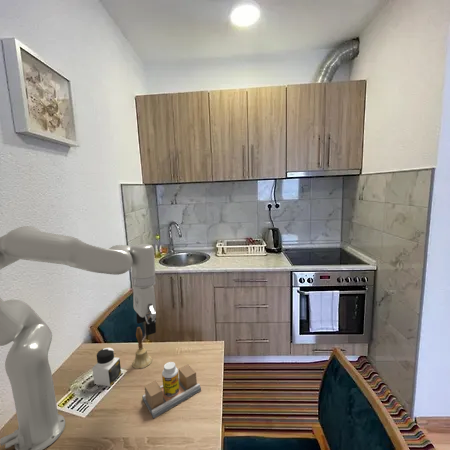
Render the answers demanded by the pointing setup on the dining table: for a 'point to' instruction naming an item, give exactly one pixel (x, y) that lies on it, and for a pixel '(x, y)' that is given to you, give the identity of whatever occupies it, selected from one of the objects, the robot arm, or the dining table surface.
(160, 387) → the rail
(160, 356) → the dining table surface
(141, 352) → the hand bell
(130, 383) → the dining table surface
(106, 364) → the medicine bottle
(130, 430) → the dining table surface
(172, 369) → the supplement bottle
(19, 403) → the robot arm
